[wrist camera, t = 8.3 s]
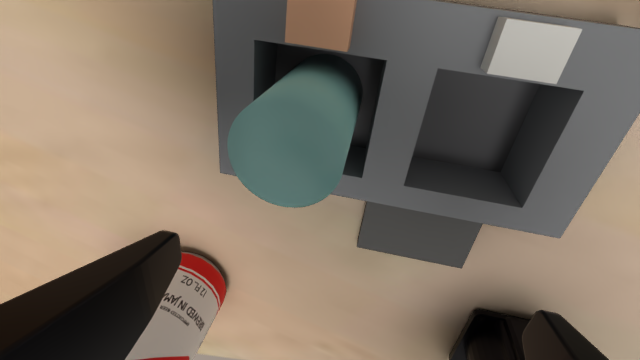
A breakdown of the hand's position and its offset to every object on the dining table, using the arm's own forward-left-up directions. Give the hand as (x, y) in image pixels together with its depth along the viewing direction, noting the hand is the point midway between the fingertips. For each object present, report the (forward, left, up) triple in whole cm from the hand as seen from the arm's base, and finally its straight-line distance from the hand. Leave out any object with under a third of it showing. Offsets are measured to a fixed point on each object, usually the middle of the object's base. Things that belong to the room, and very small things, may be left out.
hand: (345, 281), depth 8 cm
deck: (-6, -4, -12) cm, 14 cm away
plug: (+1, +3, -12) cm, 12 cm away
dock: (+2, -1, -12) cm, 12 cm away
